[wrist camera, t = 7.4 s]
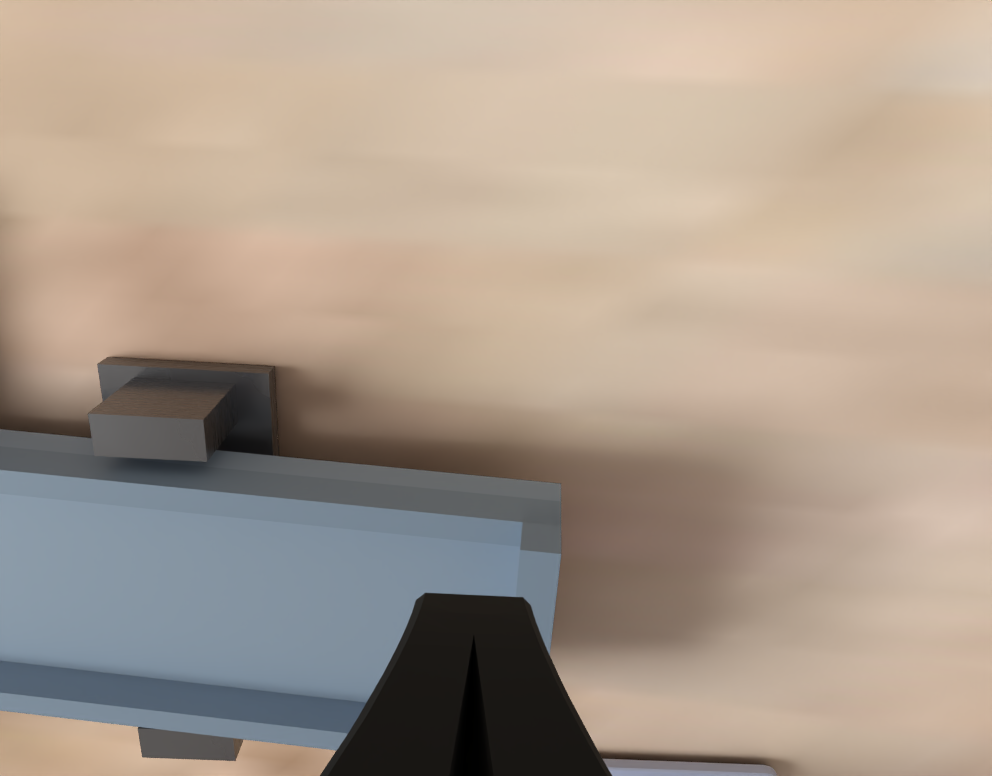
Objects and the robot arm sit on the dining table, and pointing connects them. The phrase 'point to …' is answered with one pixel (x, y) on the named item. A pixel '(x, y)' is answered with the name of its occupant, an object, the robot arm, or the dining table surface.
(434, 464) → the dining table surface
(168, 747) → the stand
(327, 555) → the blue-grey piece
